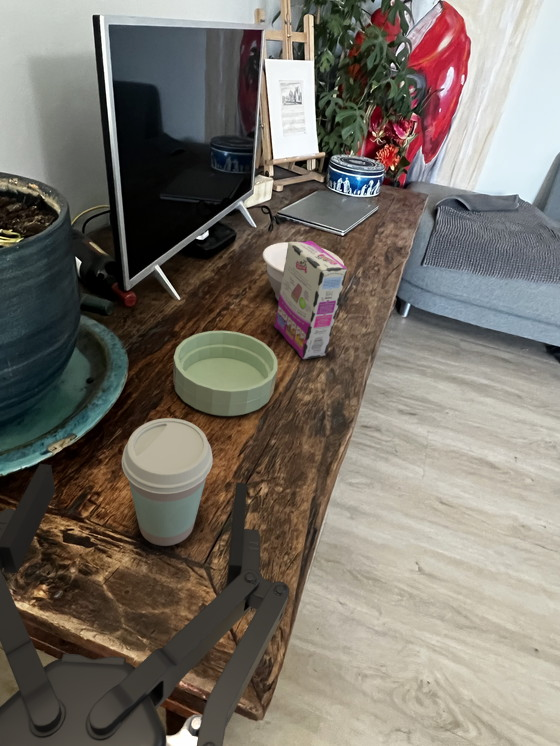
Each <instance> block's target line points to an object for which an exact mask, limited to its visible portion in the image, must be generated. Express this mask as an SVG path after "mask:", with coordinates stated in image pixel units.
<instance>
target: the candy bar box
mask: <svg viewBox="0 0 560 746" xmlns="http://www.w3.org/2000/svg"><path fill="white" fill-rule="evenodd" d="M322 248H323V247H321V246H319V245H318V244H317V243H316V242H315V241H314V240H297V241H288V249H287V255H286V260H285V266H284V272H283V278H282V283H281V289H280V296H279V301H278V300H277V301H278V302H277V307H276V314H275V318H274V319H275V320H274V328H275V329H276V331H277V332H278V333H279V334H280V335H281V336H282V337H283V338H284V340H285V342H287V343H288V344H289V345H290V346H291V348H292V349H293V350H294V351H295V352H296V353H297V354H298V355H299V357H300V358H301V359H302V360H308V359H315V358H321V357H325V356H326V355H327V352H328V347H329V344H330V339H331V336H332V333H333V328H334V324H335V320H336V317H337V311H338V308H339V304H340V300H341V296H342V292H343V288H344V284H345V281H346V278H347V277H346V276H347V273H348V272H347V271H348V270H349V268H348V267H347V266H345V264H344V265H342V264H341V263H340V262H339V261H337V260H336V259H335V258H333V257H332V256H331V255H330V254H328V253H327V252H326V251H324V250H323V249H324V248H323V249H322Z"/></svg>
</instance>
